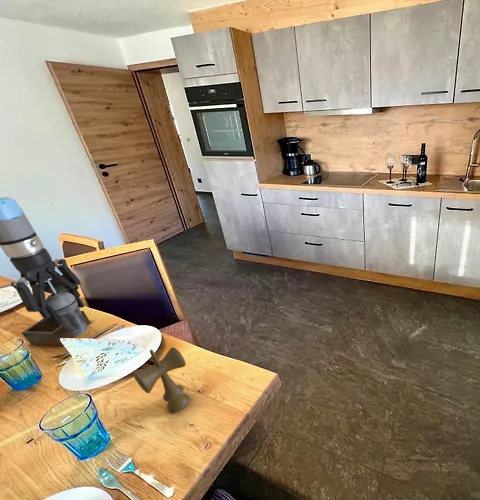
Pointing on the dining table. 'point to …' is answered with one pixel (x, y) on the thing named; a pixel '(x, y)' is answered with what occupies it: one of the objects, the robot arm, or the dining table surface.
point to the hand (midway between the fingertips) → (68, 314)
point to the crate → (48, 333)
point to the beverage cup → (67, 311)
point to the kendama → (164, 379)
